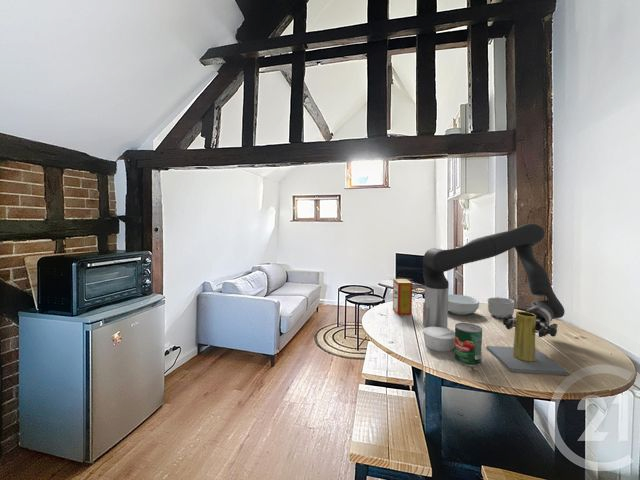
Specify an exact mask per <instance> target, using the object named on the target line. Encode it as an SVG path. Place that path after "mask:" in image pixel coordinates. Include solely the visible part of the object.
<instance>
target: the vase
mask: <svg viewBox="0 0 640 480" xmlns="http://www.w3.org/2000/svg"><path fill="white" fill-rule="evenodd" d="M515 317H516V323H515V327H514V337H513V347H514V351H513V356H514V357H515V358H517V359H520V360H523V361H530V362H531V361H535V360H536V358H535V348H536V333H535V325H536V315H535V314H532V313H529V312H525V311H516V312H515Z"/></svg>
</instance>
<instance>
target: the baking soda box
mask: <svg viewBox="0 0 640 480" xmlns="http://www.w3.org/2000/svg"><path fill="white" fill-rule="evenodd" d="M392 282H393V285H392V286H393V288H392V291H393V292H392V310H393V312H394V313H395V314H396V315H397V316H412V315H413V312H412V311H413V309H412V308H413V281H410V280H409V279H407V278H393V281H392Z"/></svg>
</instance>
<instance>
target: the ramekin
mask: <svg viewBox="0 0 640 480" xmlns="http://www.w3.org/2000/svg"><path fill="white" fill-rule="evenodd" d="M422 334H423V339H424V345H425V346H426V347H427V348H428V349H431V350H433V351H435V352H436V351H437V352H450V351H452V350H454V344H455V343H454V342H455V331H454V330H451V329H449V328H447V329H446V328H442V327H427V328H425V327H424V328H423V329H422Z"/></svg>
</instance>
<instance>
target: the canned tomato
mask: <svg viewBox="0 0 640 480" xmlns="http://www.w3.org/2000/svg"><path fill="white" fill-rule="evenodd" d="M454 332H455V342H454V343H455V344H454V348H453V351H454V352H453V360H454V361H455V362H457V363H459V364H462V365H464V366H469V367H478V366H480V365H481V364H482V345H483V328H482V327H481V326H479V325H477V324H474V323H467V322H457V323H455V325H454Z"/></svg>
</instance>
